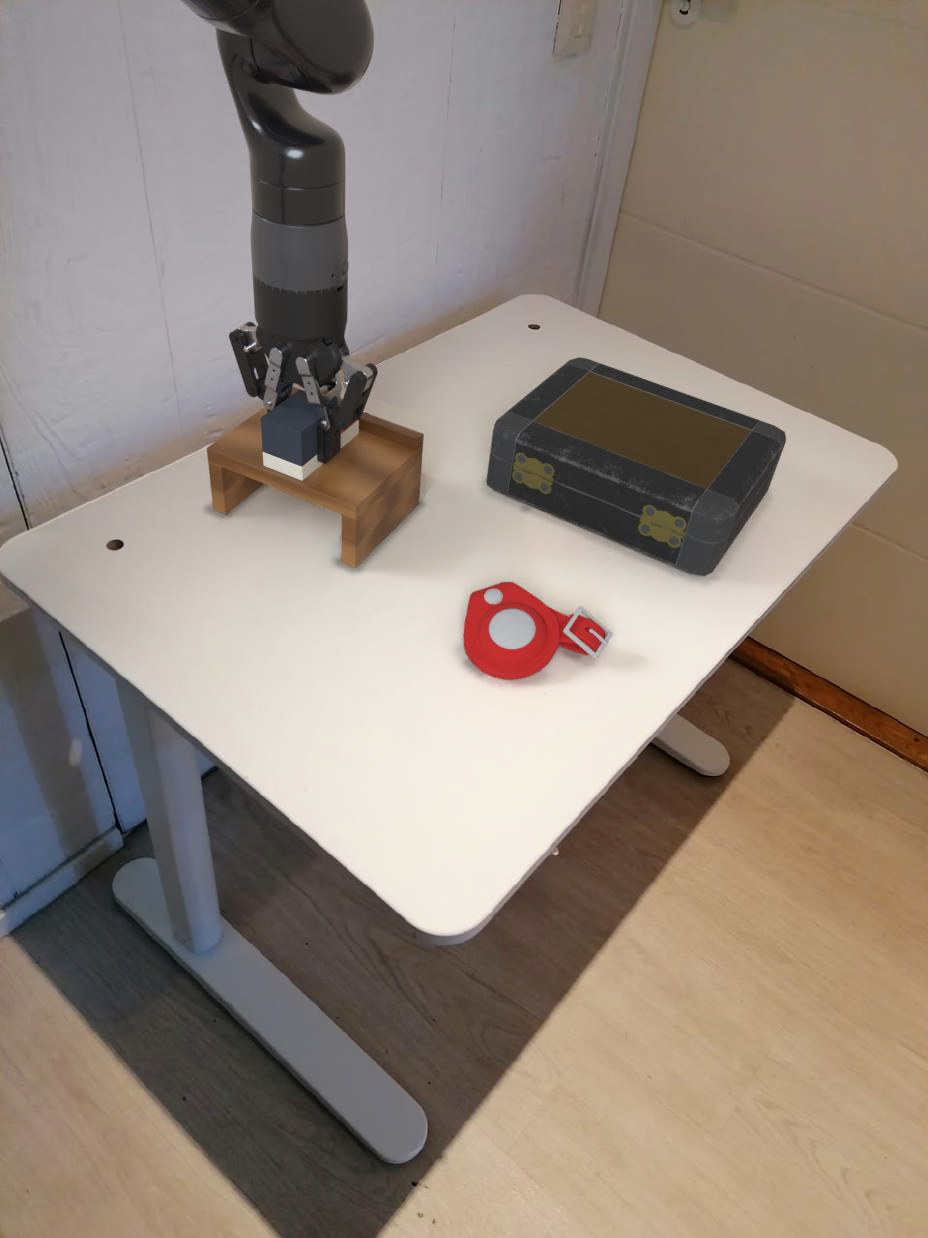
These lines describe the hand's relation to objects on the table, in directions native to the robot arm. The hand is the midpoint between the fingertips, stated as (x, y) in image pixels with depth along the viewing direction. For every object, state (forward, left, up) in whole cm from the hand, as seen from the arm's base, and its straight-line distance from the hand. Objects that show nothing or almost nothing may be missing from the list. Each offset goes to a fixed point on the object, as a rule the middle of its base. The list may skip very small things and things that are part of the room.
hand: (304, 449), depth 88 cm
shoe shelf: (+2, 0, -8) cm, 8 cm away
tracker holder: (-5, -26, -8) cm, 28 cm away
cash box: (+23, -25, -8) cm, 35 cm away
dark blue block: (+1, 0, -1) cm, 1 cm away
